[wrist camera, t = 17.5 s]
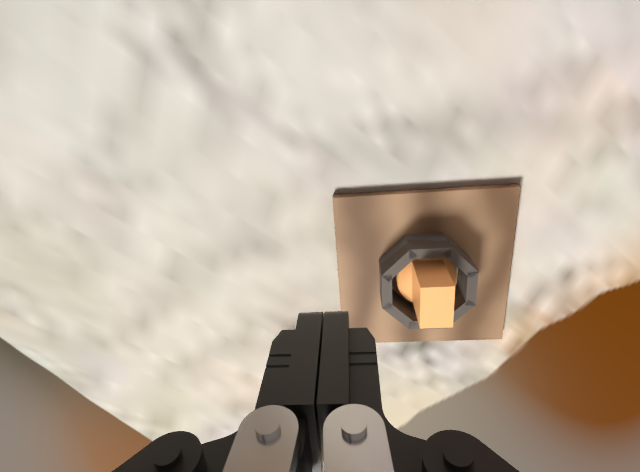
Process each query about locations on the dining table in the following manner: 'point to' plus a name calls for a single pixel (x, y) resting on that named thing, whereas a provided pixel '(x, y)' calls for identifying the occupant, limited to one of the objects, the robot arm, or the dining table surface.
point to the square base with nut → (426, 242)
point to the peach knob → (430, 290)
